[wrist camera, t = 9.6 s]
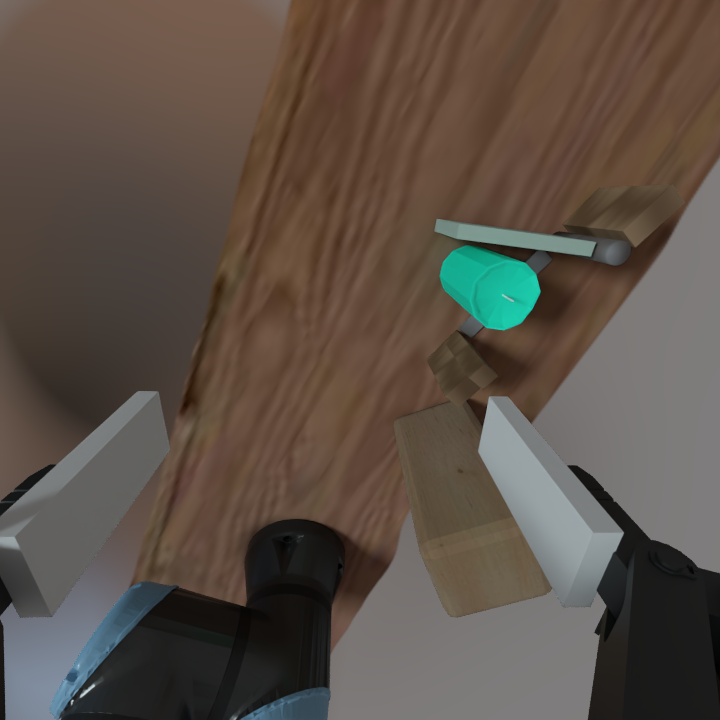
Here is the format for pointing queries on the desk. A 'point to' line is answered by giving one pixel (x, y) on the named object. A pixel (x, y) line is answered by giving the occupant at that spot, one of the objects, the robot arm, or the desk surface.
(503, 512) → the wooden block
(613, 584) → the robot arm
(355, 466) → the desk surface
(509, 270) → the candle
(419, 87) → the desk surface
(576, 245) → the sage green plank
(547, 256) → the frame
